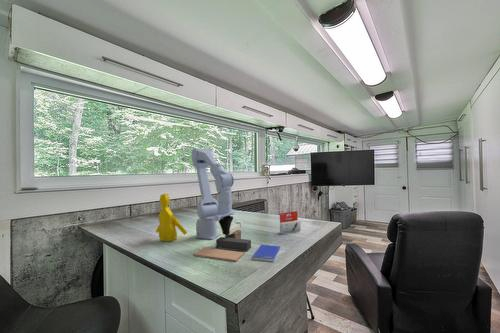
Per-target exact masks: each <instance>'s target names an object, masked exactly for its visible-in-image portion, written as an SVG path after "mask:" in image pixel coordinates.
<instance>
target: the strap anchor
mask: <svg viewBox="0 0 500 333" xmlns="http://www.w3.org/2000/svg"><path fill="white" fill-rule="evenodd" d="M224 237H226V238H237V239H242V230H241V229H238V230H237V231H235V232H233V233H232V234H230V235H225V236H224Z"/></svg>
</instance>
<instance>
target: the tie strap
mask: <svg viewBox="0 0 500 333" xmlns="http://www.w3.org/2000/svg"><path fill="white" fill-rule="evenodd" d="M243 225H244V224H243V221H242V220H236V221H234V224H231V225H230V230H229V234H228V235H230V234H232V233H233V232H235V231H237V230H241V229H242V228H243V227H244V226H243Z"/></svg>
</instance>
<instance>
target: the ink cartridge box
mask: <svg viewBox="0 0 500 333" xmlns="http://www.w3.org/2000/svg"><path fill="white" fill-rule="evenodd" d="M288 214H290V215H288ZM287 215H288V216H287ZM300 230H301V220H299V218H298V211H297V210H296V211H289V212H281V213H279V233H280V234H281V235H285V234H290V233H295V232H296V231H297V232H301V231H300Z"/></svg>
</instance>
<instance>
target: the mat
mask: <svg viewBox="0 0 500 333" xmlns="http://www.w3.org/2000/svg"><path fill="white" fill-rule="evenodd" d="M192 255H193V256H194V257H200V258H208V259H215V260H224V261H231V262H235V263H236V262H238V261H239V260H240V259H241V258H242V257H243V256H244V255H245V251H237V250H229V249H221V248H218V249H217V248H210V247H203V248H201V249H199V250H198V251H196V252H194V253H193V254H192Z"/></svg>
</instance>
